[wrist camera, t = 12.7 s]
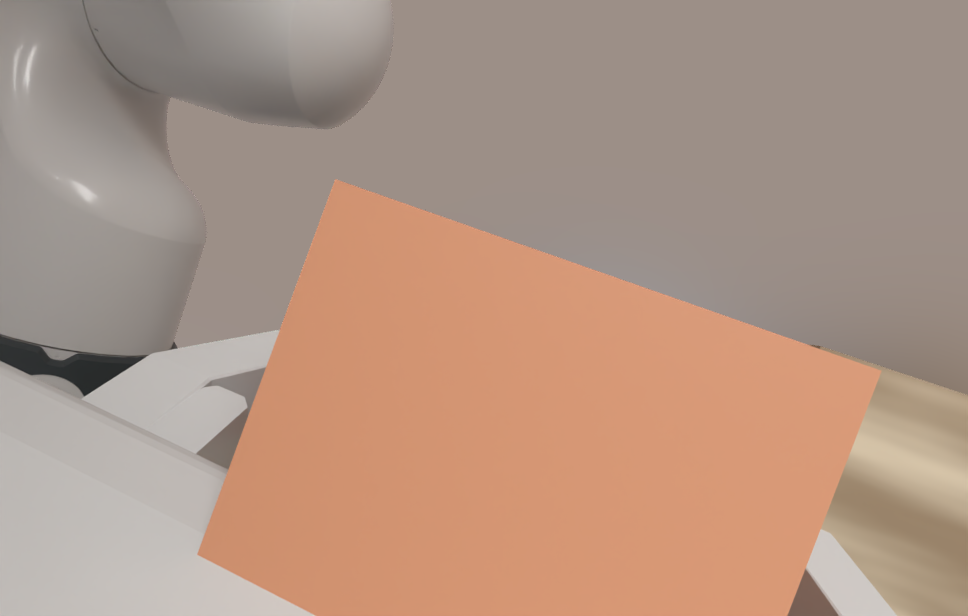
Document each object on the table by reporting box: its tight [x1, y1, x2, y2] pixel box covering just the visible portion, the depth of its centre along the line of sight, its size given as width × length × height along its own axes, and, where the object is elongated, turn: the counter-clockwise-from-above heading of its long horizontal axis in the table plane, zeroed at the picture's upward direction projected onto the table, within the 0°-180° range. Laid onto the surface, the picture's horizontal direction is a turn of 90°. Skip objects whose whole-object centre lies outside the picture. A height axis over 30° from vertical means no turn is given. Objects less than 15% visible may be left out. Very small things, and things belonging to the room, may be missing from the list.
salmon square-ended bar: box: [197, 180, 881, 616], centre depth 17 cm, size 26×4×4 cm, turn 167°
